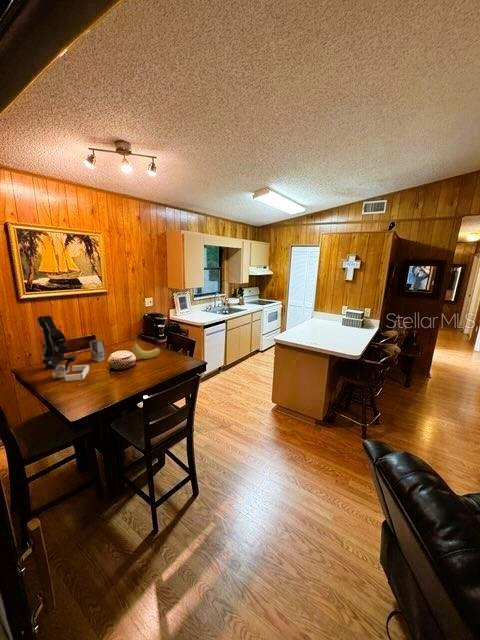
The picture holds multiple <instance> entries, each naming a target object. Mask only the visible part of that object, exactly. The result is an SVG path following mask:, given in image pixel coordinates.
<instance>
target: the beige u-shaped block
mask: <svg viewBox="0 0 480 640" xmlns="http://www.w3.org/2000/svg"><path fill="white" fill-rule="evenodd" d="M71 369H72V372H81V373H74V374H67V375H65V377H64V379H65V380H64V381H65V382H71V381H72V382H73V381H81V380H85V378H86V376H87V374H88V372H89V371H90V364H82V365H81V364H80V365H79V364H78V365H72V366H71Z"/></svg>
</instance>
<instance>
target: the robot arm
mask: <svg viewBox="0 0 480 640" xmlns="http://www.w3.org/2000/svg"><path fill="white" fill-rule="evenodd" d="M36 323H37V325H38V326H39V327H40V328H41V331H42V337H43V342H44V343H43V344H44V349H43V354H42V357H41V358H42V360H41V361H42V363H41V364H42V365H45V366H44V367H45V368H44V370H51V369H52V370H53V371H54V370H55V369H56V368H57V366H59V365H60V364H61V362H64V361H65V364H64V365H66V371H67V370H68V366H69V367H70V364H71V363H74V362H75V361H76V360H77V356H76V355H69V356H68V357H65V354H66V353H67V352H68V351H69V349H68V346H66V344H65V343H67V341H66V340H67V339H66V337H65V334H64V332H62V330H61V329H58V328H57V326H56V325H55V322H54V321H53V317H52V315H42V316H41V315H40V316H37V318H36Z"/></svg>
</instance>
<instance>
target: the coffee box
mask: <svg viewBox="0 0 480 640" xmlns="http://www.w3.org/2000/svg"><path fill="white" fill-rule="evenodd" d="M89 347H90V348H89V349H90V350H89V351H90V357H91V361H96V362H101V361H104V360H106V354H105V353H106V352H105V343H104V339H103V340H102V339H97V338H95V339H93V340H89Z"/></svg>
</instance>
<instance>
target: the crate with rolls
mask: <svg viewBox="0 0 480 640" xmlns="http://www.w3.org/2000/svg"><path fill="white" fill-rule="evenodd" d="M69 372H70V365H69V366H68V370H67V371H66V364H63V365H62V364H61V365H60V364H58V366H57V367H56V369H55V370H53V371H52V372H51V374H52V379H65V375H68V373H69Z"/></svg>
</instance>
